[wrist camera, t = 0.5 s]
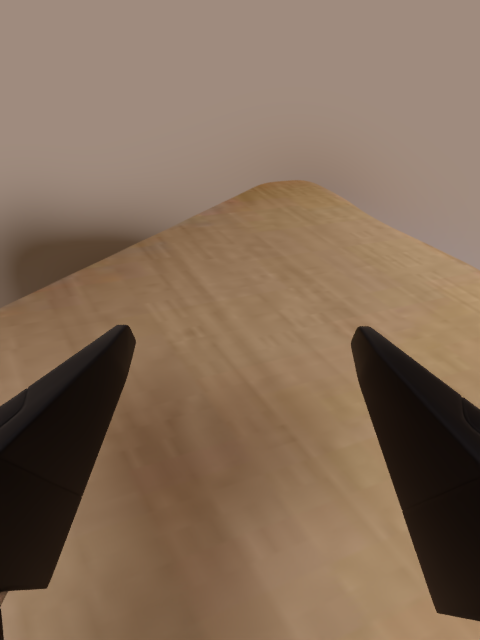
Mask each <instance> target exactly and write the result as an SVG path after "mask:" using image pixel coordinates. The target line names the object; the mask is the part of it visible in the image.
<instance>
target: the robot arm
mask: <svg viewBox="0 0 480 640" xmlns="http://www.w3.org/2000/svg"><path fill="white" fill-rule="evenodd" d="M135 344H136V340H135V337H134V335H133V333H132V331H131V329H130V327H129V326H128V325H117V326H115V327H113V328H112V329H111V330H109V331H108V332H106V333H105V334H104V335H102V336H101V337H99V338H98V339H96V340H95V341H94V342H92V343H91V344H89V345H88V346H86V347H85V348H84V349H82V350H81V351H79V352H78V353H76V354H75V355H74V356H72V357H71V358H69V359H68V360H66V361H65V362H64V363H62V364H61V365H59V366H58V367H56V368H55V369H54V370H52V371H51V372H49V373H48V374H46V375H45V376H44V377H42V378H41V379H39V380H38V381H36V382H35V383H34V384H32V385H31V386H29V387H28V389H25V390H23V391H22V392H21V393H19V394H18V395H16V396H15V397H13V398H12V399H11V400H9V401H8V402H6V403H5V404H3V405H2V406H0V606H1V604H2V602H3V600H4V598H5V596H6V594H7V592H8V591H15V590H32V589H46V588H47V587H48V585H49V582H50V580H51V578H52V575H53V572H54V570H55V567H56V564H57V562H58V559H59V557H60V554H61V551H62V549H63V546H64V543H65V541H66V538H67V535H68V533H69V530H70V528H71V525H72V522H73V520H74V517H75V514H76V512H77V509H78V506H79V504H80V501H81V498H82V495H83V493H84V490H85V487H86V485H87V482H88V480H89V477H90V474H91V472H92V469H93V466H94V464H95V461H96V458H97V456H98V453H99V450H100V448H101V445H102V443H103V440H104V437H105V435H106V432H107V429H108V427H109V424H110V421H111V419H112V416H113V413H114V411H115V408H116V406H117V403H118V400H119V398H120V395H121V392H122V390H123V387H124V384H125V382H126V379H127V376H128V372H129V368H130V364H131V360H132V356H133V352H134V348H135ZM351 348H352V353H353V358H354V363H355V367H356V372H357V377H358V381H359V384H360V388H361V391H362V394H363V397H364V400H365V402H366V405H367V408H368V411H369V414H370V417H371V420H372V423H373V426H374V429H375V432H376V435H377V438H378V441H379V444H380V447H381V450H382V453H383V456H384V459H385V462H386V465H387V468H388V470H389V473H390V476H391V479H392V482H393V485H394V488H395V491H396V494H397V497H398V500H399V503H400V506H401V509H402V510H403V511H402V512H403V515H404V518H405V521H406V524H407V527H408V530H409V533H410V536H411V539H412V542H413V545H414V548H415V551H416V554H417V557H418V560H419V563H420V566H421V569H422V571H423V574H424V577H425V580H426V583H427V586H428V589H429V592H430V595H431V598H432V601H433V604H434V606H435V609H436V611H437V613H440V614H445V615H450V616H455V617H460V618H465V619H470V620H476V621H480V409H478V408H477V407H476V406H474V405H473V404H472V403H470V402H469V401H468V400H466V399H465V398H463V397H461V395H460V394H458V393H457V392H456V391H454V390H453V389H452V388H450V387H449V386H448V385H446V384H445V383H444V382H443V381H441V380H440V379H439V378H437V377H436V376H435V375H433V374H432V373H431V372H429V371H428V370H427V369H425V368H424V367H423V366H421V365H420V364H419V363H417V362H416V361H415V360H413V359H412V358H411V357H409V356H408V355H407V354H406V353H404V352H403V351H402V350H400V349H399V348H398V347H396V346H395V345H394V344H392V343H391V342H390V341H388V340H387V339H386V338H384V337H383V336H382V335H380V334H379V333H378V332H376V331H375V330H374V329H373V328H371V327H368V326H360V327H358V328H357V329H356V331H355V334H354V336H353V338H352V341H351ZM0 640H4V637H3V626H2V616H1V609H0Z"/></svg>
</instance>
